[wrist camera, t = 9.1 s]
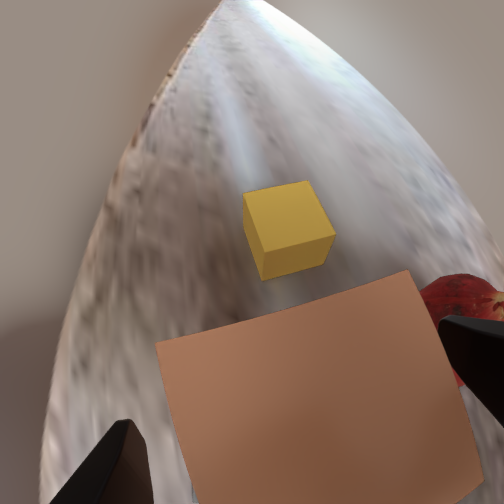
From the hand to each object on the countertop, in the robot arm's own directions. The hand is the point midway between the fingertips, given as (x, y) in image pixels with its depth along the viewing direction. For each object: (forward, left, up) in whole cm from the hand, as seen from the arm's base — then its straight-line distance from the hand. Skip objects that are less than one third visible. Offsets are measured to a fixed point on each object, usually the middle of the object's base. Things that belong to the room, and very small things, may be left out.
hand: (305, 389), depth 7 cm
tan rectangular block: (-1, -1, -8) cm, 9 cm away
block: (+10, 0, -9) cm, 13 cm away
